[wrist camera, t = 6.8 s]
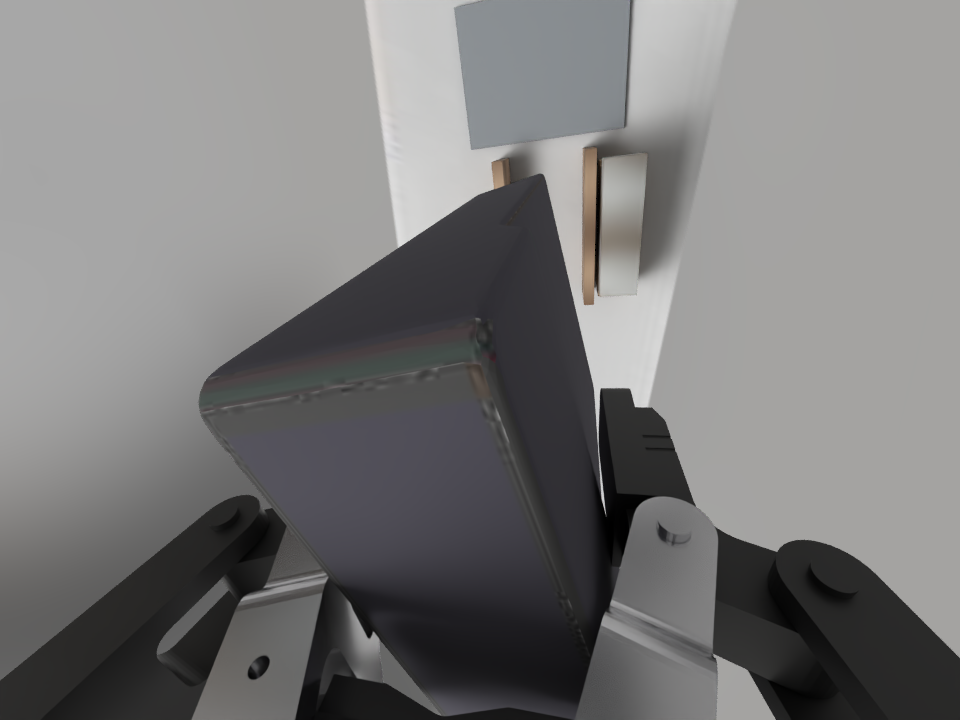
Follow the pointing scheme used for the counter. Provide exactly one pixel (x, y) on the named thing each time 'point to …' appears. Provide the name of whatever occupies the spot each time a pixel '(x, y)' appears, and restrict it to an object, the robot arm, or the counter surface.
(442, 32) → the counter surface
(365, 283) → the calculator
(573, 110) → the slate mat
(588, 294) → the rack
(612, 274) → the offcut stack
